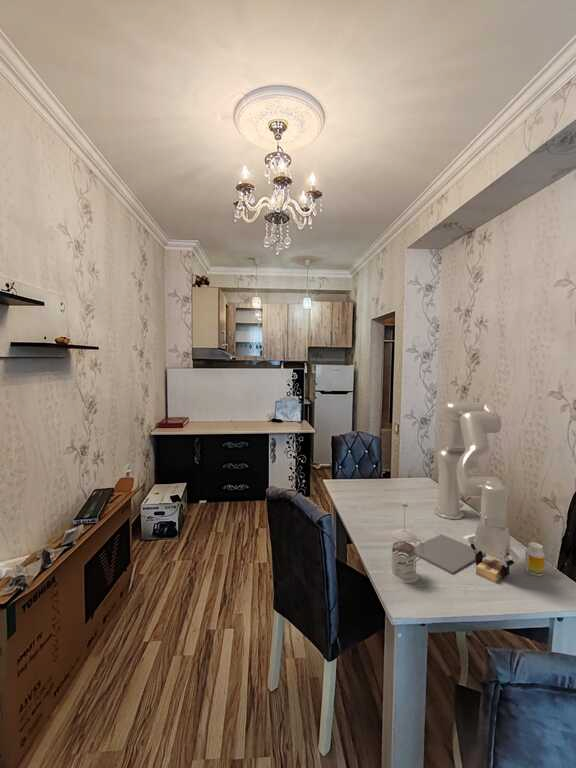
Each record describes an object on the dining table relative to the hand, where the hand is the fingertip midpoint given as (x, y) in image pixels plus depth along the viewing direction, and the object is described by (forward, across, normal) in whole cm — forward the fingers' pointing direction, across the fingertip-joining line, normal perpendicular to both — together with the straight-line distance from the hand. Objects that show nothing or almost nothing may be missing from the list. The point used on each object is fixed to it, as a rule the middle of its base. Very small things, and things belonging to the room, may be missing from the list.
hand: (491, 570), depth 122 cm
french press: (+1, -16, -25) cm, 30 cm away
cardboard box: (+1, 0, 0) cm, 1 cm away
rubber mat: (+1, -16, -1) cm, 16 cm away
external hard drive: (+2, -12, +18) cm, 22 cm away
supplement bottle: (+1, +8, +13) cm, 15 cm away
